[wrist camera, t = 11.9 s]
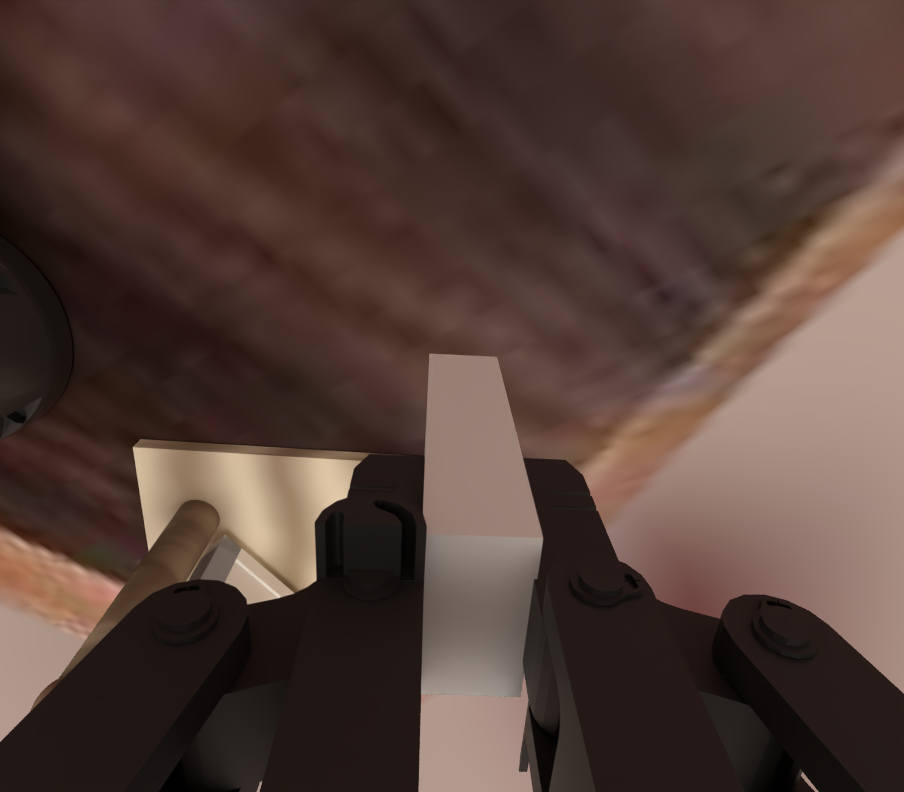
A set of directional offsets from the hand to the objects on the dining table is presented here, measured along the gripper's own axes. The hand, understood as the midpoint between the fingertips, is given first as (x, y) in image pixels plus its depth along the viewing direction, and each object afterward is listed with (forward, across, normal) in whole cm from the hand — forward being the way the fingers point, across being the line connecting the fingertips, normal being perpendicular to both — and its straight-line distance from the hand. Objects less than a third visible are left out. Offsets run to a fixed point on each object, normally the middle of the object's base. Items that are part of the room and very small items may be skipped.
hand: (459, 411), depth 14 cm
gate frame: (+26, -11, -25) cm, 38 cm away
